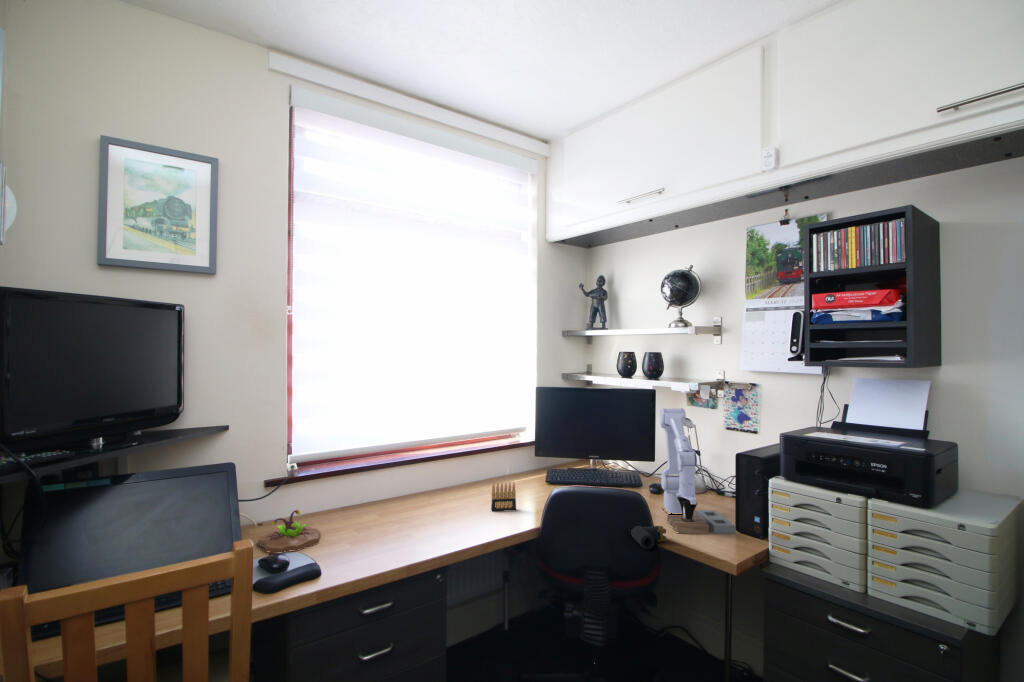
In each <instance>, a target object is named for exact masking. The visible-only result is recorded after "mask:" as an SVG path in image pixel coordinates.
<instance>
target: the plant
mask: <svg viewBox="0 0 1024 682" xmlns="http://www.w3.org/2000/svg"><path fill="white" fill-rule="evenodd" d="M294 514H296V515H300V514H301V511H300V510H298V509H296V510H292V513H291V514H290V515H289V521H288V520H286V519H285V518H281V517H279V518H277V519H274V520H273V521H272V525H273V526H276V525H277V522H278V521H282V522H283V523H284V524H283V525H281V524H280V525H279V524H278V525H277V528H278V529H279V530H274V531H271V532H268V533H267V534H265V535H261V536H260V537H258V539H257V545H258V544H259V545H261V546H263V547H264V548H265V549H266V550H265V549H264V548H263V549H264V550H265V552H266V551H270V552H274V553H273V554H276V553H275V552H284V551H289V550H298V549H301V548H304V547H307V546H309V547H311V546H310V545H312V546H314V545H313V544H315V545H317V544H316V543H318V542H319V543H320V540H321V539H320V538H322V537H321V535H322V534H321V531H320V530H319V529H317V528H314V527H313V528H312V526H307V523H304V524H302V525H300V522H297V521H294V520H293V516H294ZM319 539H320V540H319ZM319 543H318V544H319ZM259 545H258V546H259ZM307 548H308V547H307ZM304 549H305V548H304ZM301 550H302V549H301ZM298 551H299V550H298Z"/></svg>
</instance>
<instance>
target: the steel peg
mask: <svg viewBox="0 0 1024 682" xmlns="http://www.w3.org/2000/svg"><path fill="white" fill-rule="evenodd" d="M683 522H692V520H687V519H686V517H685V510H684V506H683Z"/></svg>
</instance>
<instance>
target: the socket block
mask: <svg viewBox="0 0 1024 682" xmlns="http://www.w3.org/2000/svg"><path fill="white" fill-rule="evenodd" d="M666 517H667V518H666V521H668V522H669V523H670V525H671V526H672V527H673V528H674V529H675V531H676V532H680V533H679V534H707V533H710V529H709V525H708V524H707V523H706V522H704V521H703V520H702V519H701V518H700V517H699V516H698V515H697V514H693V517H692V522H683V515H668V514H667V515H666ZM670 525H669V526H670ZM671 526H670V527H671ZM672 527H671V528H672ZM673 528H672V529H673ZM674 529H673V530H674ZM675 531H674V532H675ZM676 532H675V533H676Z"/></svg>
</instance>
